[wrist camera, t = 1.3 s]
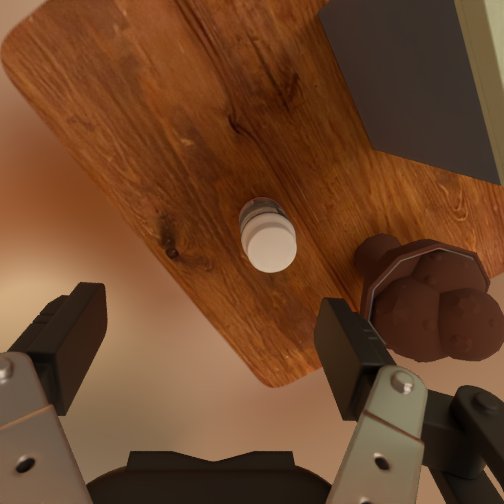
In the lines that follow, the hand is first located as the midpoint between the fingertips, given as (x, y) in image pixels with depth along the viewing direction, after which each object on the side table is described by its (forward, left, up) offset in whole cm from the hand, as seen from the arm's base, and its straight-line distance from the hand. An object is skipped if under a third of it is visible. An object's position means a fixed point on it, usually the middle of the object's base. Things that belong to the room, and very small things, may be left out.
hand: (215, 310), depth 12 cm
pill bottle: (+5, -2, -22) cm, 23 cm away
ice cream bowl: (+19, -1, -22) cm, 29 cm away
